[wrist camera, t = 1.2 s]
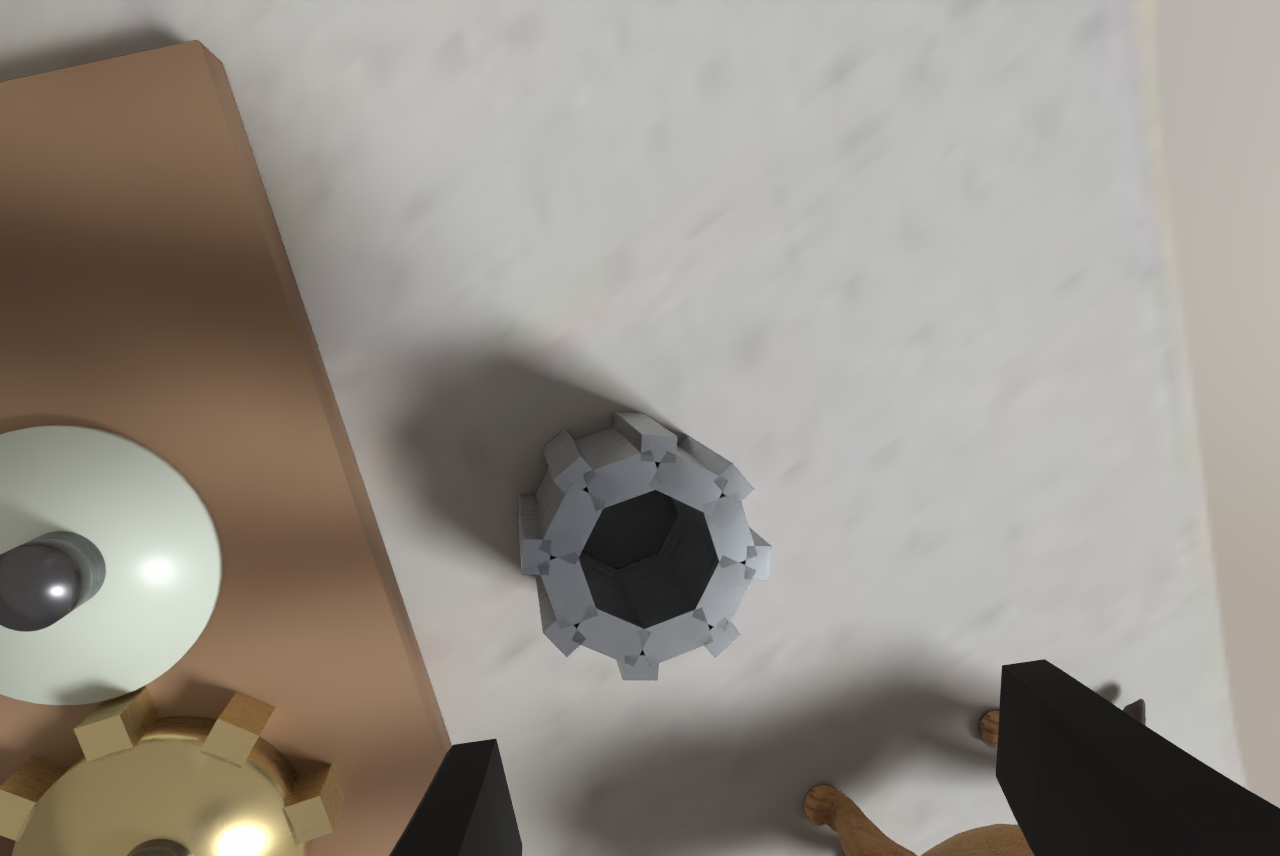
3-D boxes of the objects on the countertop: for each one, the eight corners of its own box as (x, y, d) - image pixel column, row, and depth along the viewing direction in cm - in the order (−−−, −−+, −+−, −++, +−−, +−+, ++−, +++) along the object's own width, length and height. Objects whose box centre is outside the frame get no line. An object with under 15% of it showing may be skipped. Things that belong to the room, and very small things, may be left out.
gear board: (495, 877, 23) (494, 982, 20) (27, 1044, 22) (-70, 1193, 18) (222, 61, 19) (155, 1, 16) (-376, 192, 18) (-606, 160, 14)
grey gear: (663, 637, 23) (700, 712, 19) (486, 561, 22) (482, 622, 18) (750, 466, 23) (809, 501, 19) (576, 380, 22) (594, 395, 18)
